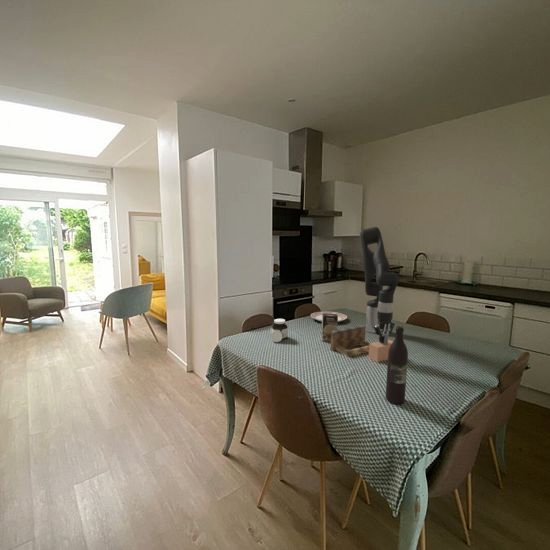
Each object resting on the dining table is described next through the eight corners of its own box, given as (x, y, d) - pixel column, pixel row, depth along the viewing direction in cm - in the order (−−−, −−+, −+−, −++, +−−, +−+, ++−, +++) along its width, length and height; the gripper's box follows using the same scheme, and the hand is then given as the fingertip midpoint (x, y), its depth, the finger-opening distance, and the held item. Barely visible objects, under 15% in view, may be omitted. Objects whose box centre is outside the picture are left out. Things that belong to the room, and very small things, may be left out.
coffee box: (321, 341, 180) (322, 315, 178) (321, 337, 186) (321, 313, 184) (337, 342, 179) (337, 316, 177) (335, 338, 185) (336, 313, 183)
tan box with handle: (387, 353, 163) (388, 330, 161) (396, 357, 158) (397, 333, 156) (368, 358, 156) (369, 334, 155) (377, 362, 151) (378, 338, 149)
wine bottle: (385, 402, 115) (390, 329, 111) (385, 393, 122) (389, 323, 118) (405, 406, 113) (410, 331, 109) (404, 397, 119) (409, 325, 115)
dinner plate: (309, 314, 240) (309, 310, 239) (343, 314, 239) (343, 310, 238) (312, 325, 213) (312, 320, 212) (350, 325, 212) (350, 321, 211)
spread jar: (284, 335, 190) (285, 317, 189) (291, 341, 180) (291, 322, 178) (267, 337, 187) (267, 319, 185) (272, 343, 176) (272, 324, 174)
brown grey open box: (361, 342, 178) (362, 324, 177) (377, 349, 168) (378, 331, 166) (330, 349, 167) (330, 331, 166) (344, 357, 157) (345, 337, 155)
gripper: (388, 307, 160) (386, 337, 162) (370, 310, 153) (368, 342, 156) (400, 310, 153) (398, 342, 156) (381, 313, 147) (379, 346, 149)
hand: (383, 342), depth 156 cm, fingers closed on tan box with handle
